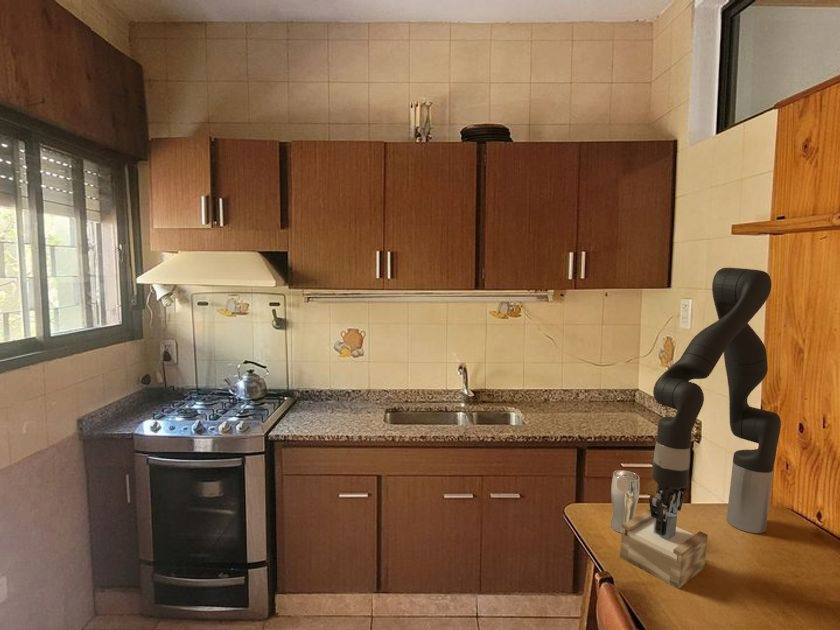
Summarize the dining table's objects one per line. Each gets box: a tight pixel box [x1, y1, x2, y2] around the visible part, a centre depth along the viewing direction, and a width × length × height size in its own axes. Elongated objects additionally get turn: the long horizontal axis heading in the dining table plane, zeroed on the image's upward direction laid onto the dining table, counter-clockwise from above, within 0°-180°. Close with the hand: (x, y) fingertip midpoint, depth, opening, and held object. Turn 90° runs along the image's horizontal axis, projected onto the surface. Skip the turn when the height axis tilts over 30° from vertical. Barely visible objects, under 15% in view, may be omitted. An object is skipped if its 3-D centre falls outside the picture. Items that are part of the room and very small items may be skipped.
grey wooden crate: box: [619, 509, 709, 589], centre depth 116 cm, size 13×14×8 cm
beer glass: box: [609, 469, 641, 534], centre depth 131 cm, size 7×7×15 cm
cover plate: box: [627, 511, 695, 560], centre depth 116 cm, size 12×12×6 cm
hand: (664, 531), depth 116 cm, fingers closed on cover plate, 3 cm apart
